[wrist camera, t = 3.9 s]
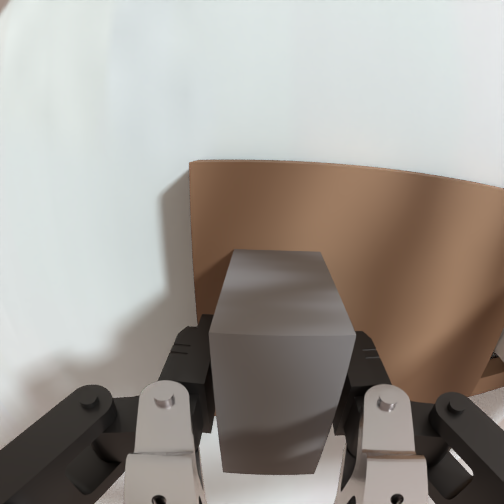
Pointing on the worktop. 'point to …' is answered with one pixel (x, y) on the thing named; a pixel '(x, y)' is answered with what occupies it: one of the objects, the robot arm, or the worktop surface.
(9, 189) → the worktop surface
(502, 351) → the supplement box
